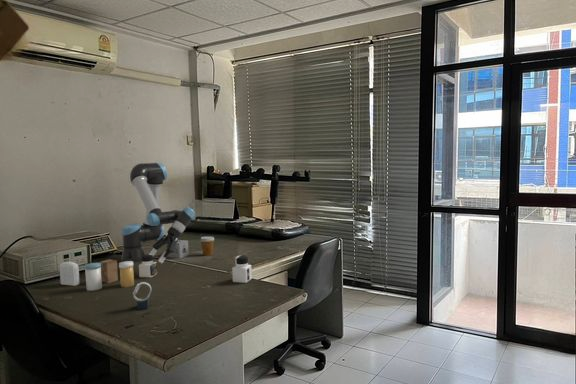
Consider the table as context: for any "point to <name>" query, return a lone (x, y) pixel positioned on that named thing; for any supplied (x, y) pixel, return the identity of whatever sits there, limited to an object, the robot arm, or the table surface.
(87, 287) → the white tub
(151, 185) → the robot arm
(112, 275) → the walnut block
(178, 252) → the icon cube
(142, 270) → the medicine bottle
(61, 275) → the photo printer
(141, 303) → the watch
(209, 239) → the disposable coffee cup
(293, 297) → the table surface
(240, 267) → the container
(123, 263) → the amber jar
